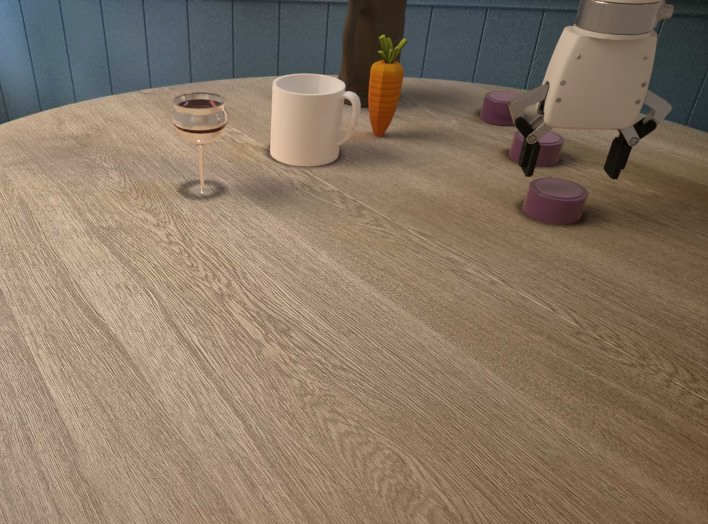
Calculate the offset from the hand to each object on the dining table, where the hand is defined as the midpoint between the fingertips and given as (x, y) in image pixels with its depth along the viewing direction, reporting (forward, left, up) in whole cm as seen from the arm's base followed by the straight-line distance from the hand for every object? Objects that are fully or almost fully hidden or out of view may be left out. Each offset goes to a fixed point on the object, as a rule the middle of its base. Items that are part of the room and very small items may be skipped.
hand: (567, 173), depth 79 cm
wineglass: (+45, -1, -6) cm, 45 cm away
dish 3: (+1, 0, -6) cm, 6 cm away
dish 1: (0, -36, -6) cm, 36 cm away
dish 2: (-1, -18, -6) cm, 19 cm away
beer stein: (+23, -42, -6) cm, 48 cm away
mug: (+31, -15, -6) cm, 34 cm away
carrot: (+21, -24, -6) cm, 32 cm away
